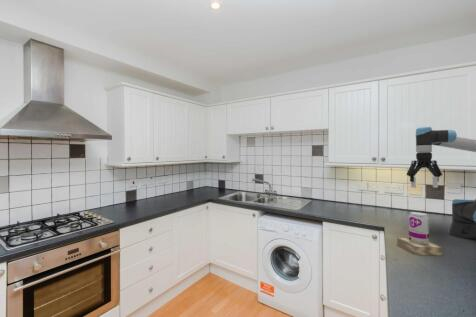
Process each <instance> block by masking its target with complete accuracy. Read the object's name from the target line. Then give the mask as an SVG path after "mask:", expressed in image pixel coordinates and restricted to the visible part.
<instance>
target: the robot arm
mask: <svg viewBox="0 0 476 317" xmlns="http://www.w3.org/2000/svg"><path fill="white" fill-rule="evenodd" d="M457 135H458V134H457V132H456V130H453V129H442V130H441V129H439V130H437V129H435V130H434V129H432V127H431V126H421V127H417V128H416V130H415V151H416V152H415V153H416V154H415V159H416V160H415V159H414V160H411V164H410V166H409V169H408V170H407V172H406V176H408V177H409V181H410V187H411V188H417V184H416V183H417V177H416V175H417V173H419V171H420V170H421V169H427V170H428V171H429V172H430V173H431V174H432V188H435V189H436V188H439V182H440V179H439V178H440V177H441V176H443V173H442V171H441V169H440V167H439V165H438V163H437V162H438V161H437V160H433V154H432V152H433V146H438V147H443V148H449V149H456V150H460V151H466V152H473V153H476V139H473V138H467V137H461V136H457ZM451 215H452V216H451V223H450V226H449V228H448V234H449V235H451V236H454V237H458V238H462V239H468V240H476V198H475V199H453V200H452V202H451Z"/></svg>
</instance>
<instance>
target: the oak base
mask: <svg viewBox="0 0 476 317" xmlns="http://www.w3.org/2000/svg"><path fill="white" fill-rule="evenodd" d="M396 245H397V246H398V247H399V248H400V249H401V248H402V249H403V250H405V251H407V252H409V253H411V254H413V255H415V256H442V255H443V247H442V246H439V245H437V244H435V243H433V242H430V241H429V243H428V244H426V245H421V244H416V243H413V242H411V241H410V240H409V237H397V238H396Z"/></svg>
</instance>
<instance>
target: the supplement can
mask: <svg viewBox="0 0 476 317" xmlns="http://www.w3.org/2000/svg"><path fill="white" fill-rule="evenodd" d="M408 238H409V240H410V241H411V242H413V243H416V244H421V245H426V244H428V243H429V242H430V241H429V240H430V217H429V214H427V213H424V212H418V211H411V212H410V213H409V214H408Z"/></svg>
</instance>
